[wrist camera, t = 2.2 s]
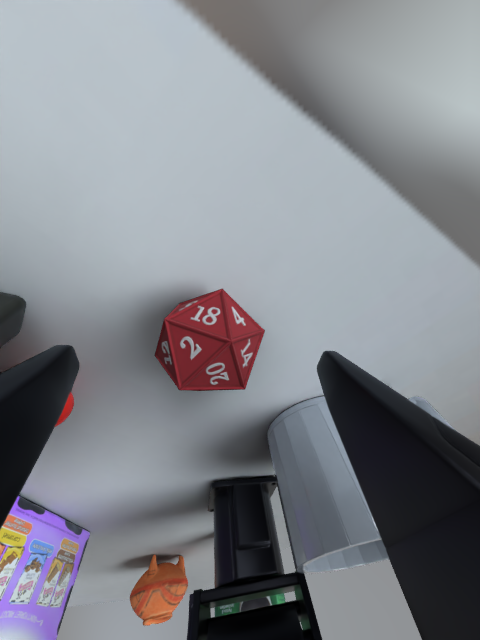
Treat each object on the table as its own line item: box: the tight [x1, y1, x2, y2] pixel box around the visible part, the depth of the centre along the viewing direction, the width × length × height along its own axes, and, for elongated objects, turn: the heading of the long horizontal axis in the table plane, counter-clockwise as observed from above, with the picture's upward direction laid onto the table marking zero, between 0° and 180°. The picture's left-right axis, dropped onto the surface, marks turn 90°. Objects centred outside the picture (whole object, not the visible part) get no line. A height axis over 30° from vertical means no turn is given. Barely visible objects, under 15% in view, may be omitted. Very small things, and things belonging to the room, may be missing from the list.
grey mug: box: [267, 396, 456, 574], centre depth 14 cm, size 11×8×7 cm
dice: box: [155, 289, 265, 391], centre depth 9 cm, size 4×4×4 cm
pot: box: [130, 555, 188, 625], centre depth 32 cm, size 8×8×7 cm
